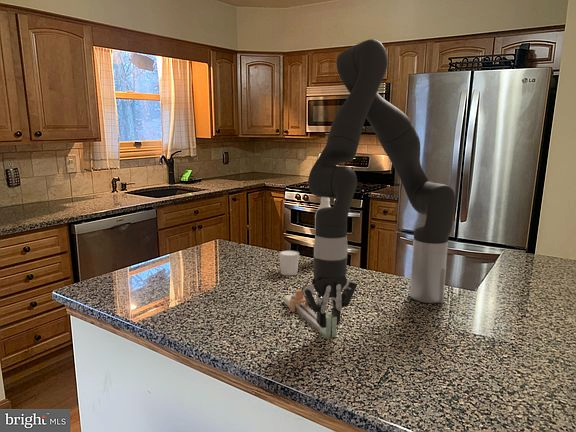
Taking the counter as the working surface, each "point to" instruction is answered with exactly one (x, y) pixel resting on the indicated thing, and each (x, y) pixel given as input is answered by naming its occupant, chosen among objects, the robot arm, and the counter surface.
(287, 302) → the block
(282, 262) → the shot glass
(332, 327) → the leg
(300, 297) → the stepped wooden block
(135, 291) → the counter surface
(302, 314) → the leg
